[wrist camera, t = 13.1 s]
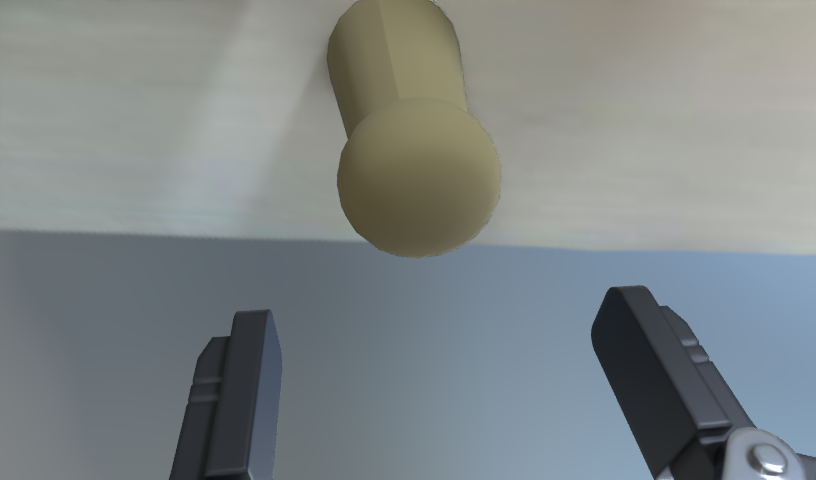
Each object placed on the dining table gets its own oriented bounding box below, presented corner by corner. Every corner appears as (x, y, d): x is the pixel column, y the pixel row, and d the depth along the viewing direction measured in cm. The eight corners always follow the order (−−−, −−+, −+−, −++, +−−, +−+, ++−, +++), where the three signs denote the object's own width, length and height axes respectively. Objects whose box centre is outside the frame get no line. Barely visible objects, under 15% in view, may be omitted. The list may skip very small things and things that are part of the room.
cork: (449, 122, 25) (503, 284, 17) (328, 119, 24) (324, 287, 16) (470, -6, 21) (553, 127, 13) (325, -15, 20) (319, 121, 12)
